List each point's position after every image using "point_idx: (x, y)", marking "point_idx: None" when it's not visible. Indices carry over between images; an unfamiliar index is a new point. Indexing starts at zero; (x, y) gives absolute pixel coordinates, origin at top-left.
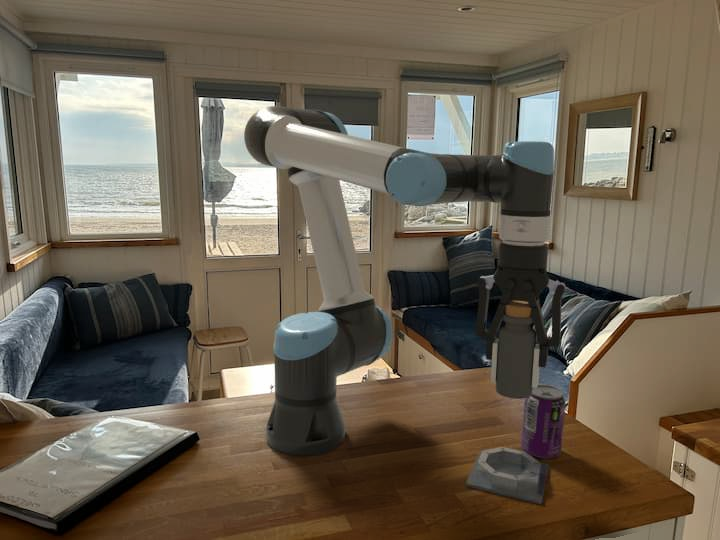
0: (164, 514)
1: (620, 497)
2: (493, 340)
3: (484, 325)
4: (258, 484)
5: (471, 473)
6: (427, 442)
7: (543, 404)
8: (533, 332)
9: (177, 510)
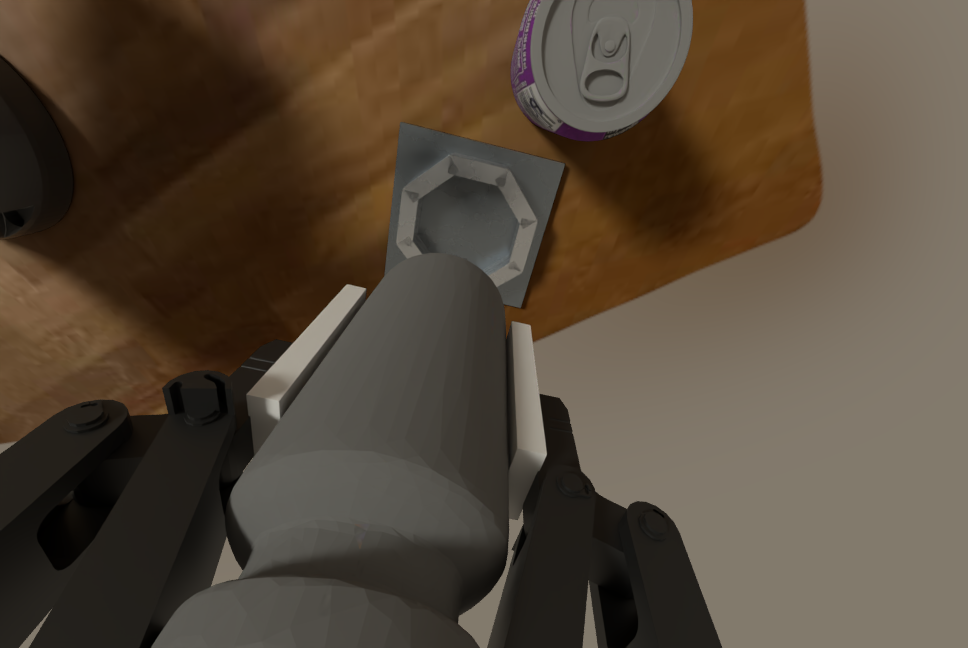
0: (10, 410)
1: (680, 255)
2: (245, 464)
3: (74, 476)
4: (53, 331)
5: (390, 241)
6: (259, 90)
7: (575, 135)
8: (479, 601)
9: (15, 401)
